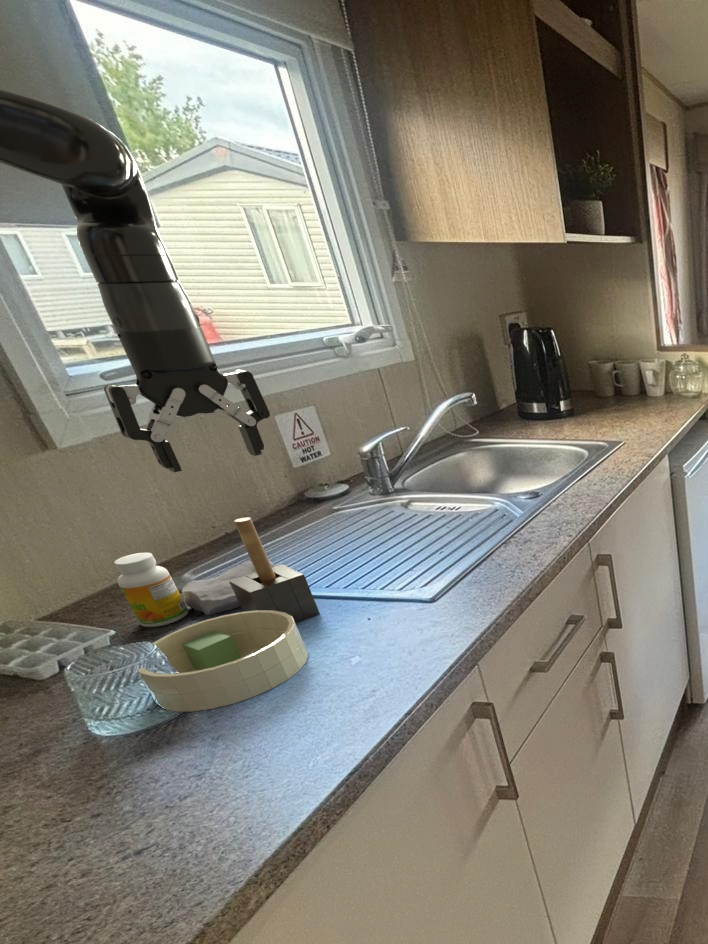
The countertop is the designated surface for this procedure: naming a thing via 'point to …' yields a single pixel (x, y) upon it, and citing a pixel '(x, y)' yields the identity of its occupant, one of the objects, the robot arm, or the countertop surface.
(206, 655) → the sage block
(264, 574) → the stirrer
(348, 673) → the countertop surface
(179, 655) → the bowl
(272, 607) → the holder
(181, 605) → the supplement bottle
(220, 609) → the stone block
